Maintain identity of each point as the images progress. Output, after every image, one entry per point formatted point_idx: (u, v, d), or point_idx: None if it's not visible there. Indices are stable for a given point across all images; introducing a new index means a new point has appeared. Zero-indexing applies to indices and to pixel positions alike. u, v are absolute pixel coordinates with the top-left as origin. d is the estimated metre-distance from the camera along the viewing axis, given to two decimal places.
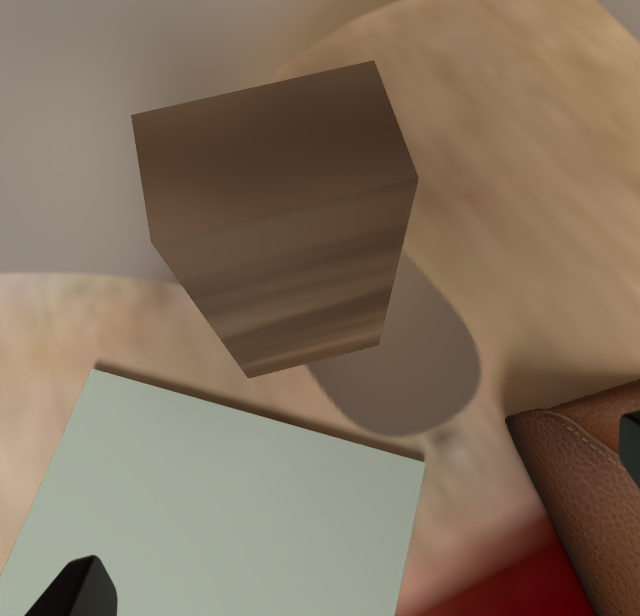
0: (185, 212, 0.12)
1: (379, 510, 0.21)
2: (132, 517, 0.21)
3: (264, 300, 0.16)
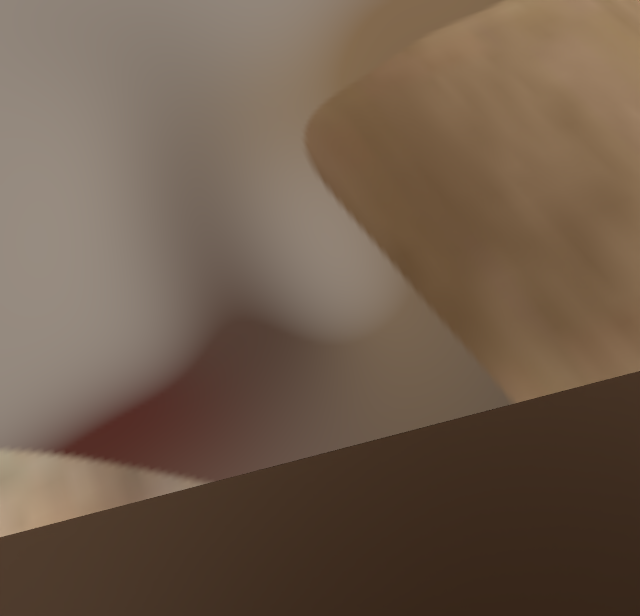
0: None
1: None
2: None
3: None
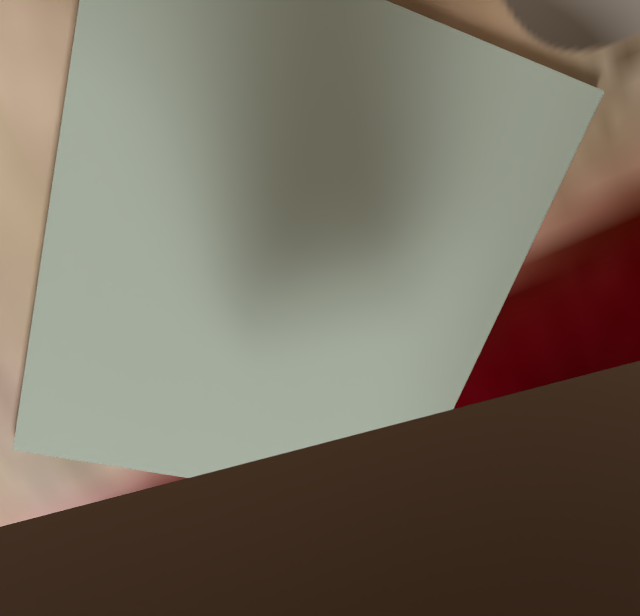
0: None
1: (533, 150, 0.17)
2: (216, 149, 0.16)
3: None
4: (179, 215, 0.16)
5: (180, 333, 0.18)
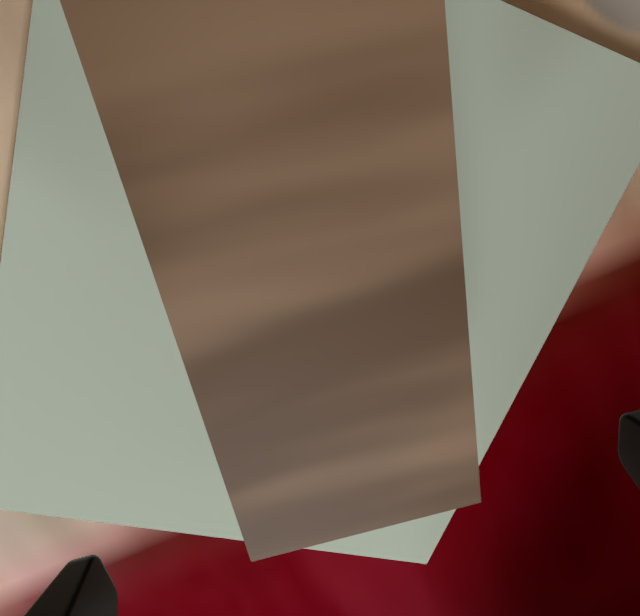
0: None
1: (594, 153, 0.14)
2: None
3: (244, 229, 0.10)
4: None
5: (169, 370, 0.15)
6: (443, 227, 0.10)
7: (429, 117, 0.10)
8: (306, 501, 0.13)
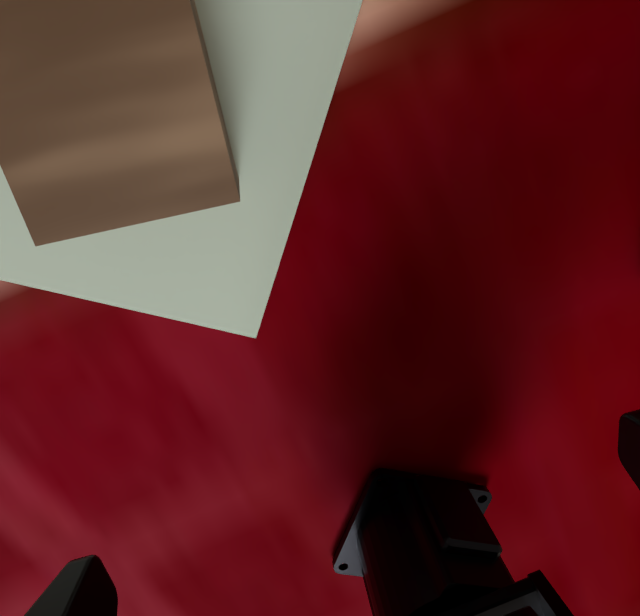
0: None
1: None
2: None
3: None
4: None
5: None
6: None
7: None
8: (75, 183, 0.15)
